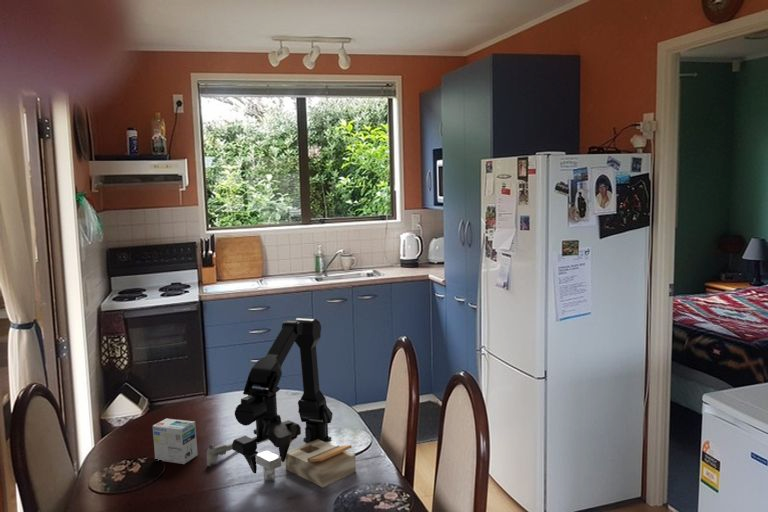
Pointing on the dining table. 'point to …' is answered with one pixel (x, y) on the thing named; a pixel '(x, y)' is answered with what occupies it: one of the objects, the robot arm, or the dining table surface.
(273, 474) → the steel pin
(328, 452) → the tan wooden plank
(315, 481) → the hitch block
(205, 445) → the dining table surface
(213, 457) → the caliper
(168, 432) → the light bulb box
